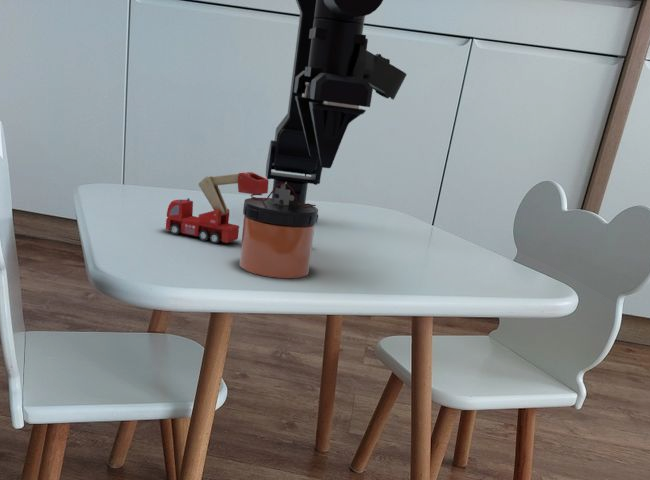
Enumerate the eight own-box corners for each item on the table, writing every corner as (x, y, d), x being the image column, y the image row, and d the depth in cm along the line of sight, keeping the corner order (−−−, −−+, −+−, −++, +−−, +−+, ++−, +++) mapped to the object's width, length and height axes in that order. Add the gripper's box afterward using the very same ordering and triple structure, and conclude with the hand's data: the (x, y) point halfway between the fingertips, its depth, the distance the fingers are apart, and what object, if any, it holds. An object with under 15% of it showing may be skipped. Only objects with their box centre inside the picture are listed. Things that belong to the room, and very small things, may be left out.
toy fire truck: (174, 228, 96) (179, 158, 93) (262, 248, 92) (270, 175, 89) (161, 231, 93) (165, 159, 90) (251, 251, 89) (259, 176, 86)
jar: (237, 256, 86) (242, 199, 83) (302, 262, 87) (310, 206, 85) (241, 274, 78) (248, 212, 76) (313, 281, 80) (322, 219, 77)
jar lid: (240, 207, 84) (242, 194, 83) (310, 214, 85) (311, 202, 85) (245, 221, 76) (247, 207, 75) (322, 228, 77) (324, 215, 77)
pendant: (245, 200, 79) (247, 177, 78) (251, 195, 84) (254, 173, 83) (313, 210, 79) (316, 187, 78) (316, 205, 83) (319, 182, 82)
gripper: (430, 30, 71) (403, 182, 77) (386, 35, 88) (366, 159, 94) (325, 13, 69) (305, 170, 75) (301, 22, 86) (286, 150, 92)
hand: (319, 162), depth 84 cm, fingers open, 9 cm apart
